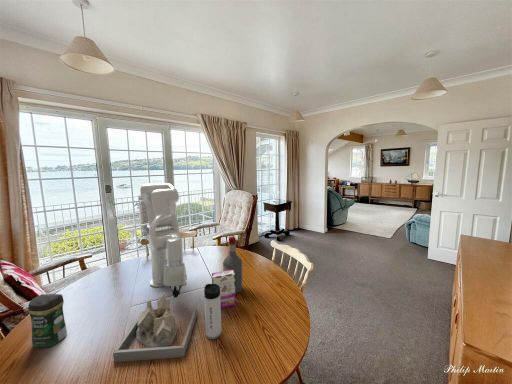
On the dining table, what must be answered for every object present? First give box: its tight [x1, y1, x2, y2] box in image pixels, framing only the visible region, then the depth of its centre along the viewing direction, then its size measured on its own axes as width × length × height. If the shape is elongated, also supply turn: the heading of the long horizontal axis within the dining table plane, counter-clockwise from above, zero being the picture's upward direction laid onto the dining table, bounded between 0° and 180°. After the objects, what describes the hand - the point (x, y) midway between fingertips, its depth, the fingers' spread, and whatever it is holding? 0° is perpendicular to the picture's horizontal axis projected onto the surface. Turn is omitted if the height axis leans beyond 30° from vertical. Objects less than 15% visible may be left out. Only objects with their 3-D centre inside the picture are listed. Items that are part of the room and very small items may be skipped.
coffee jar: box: [27, 293, 68, 348], centre depth 80 cm, size 10×8×19 cm
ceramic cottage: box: [135, 292, 179, 348], centre depth 83 cm, size 16×16×15 cm
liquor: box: [222, 236, 244, 294], centre depth 114 cm, size 9×9×30 cm
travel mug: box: [203, 283, 222, 340], centre depth 83 cm, size 6×7×20 cm
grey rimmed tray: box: [112, 307, 198, 363], centre depth 83 cm, size 22×24×4 cm
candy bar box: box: [211, 270, 237, 309], centre depth 101 cm, size 11×5×16 cm, turn 105°
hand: (176, 296), depth 104 cm, fingers closed
